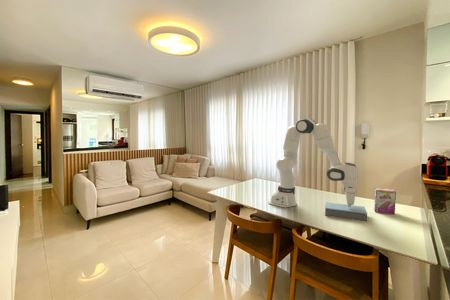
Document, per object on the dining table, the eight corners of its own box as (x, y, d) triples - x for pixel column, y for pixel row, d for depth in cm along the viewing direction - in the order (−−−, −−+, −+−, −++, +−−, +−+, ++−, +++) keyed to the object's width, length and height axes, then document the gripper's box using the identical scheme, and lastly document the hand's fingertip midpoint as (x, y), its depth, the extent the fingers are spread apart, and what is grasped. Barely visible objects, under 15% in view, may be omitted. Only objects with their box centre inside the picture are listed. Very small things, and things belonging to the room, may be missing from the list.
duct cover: (325, 208, 139) (325, 207, 139) (325, 203, 151) (325, 202, 151) (367, 214, 128) (367, 213, 128) (364, 207, 140) (364, 206, 140)
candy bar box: (374, 212, 143) (375, 189, 141) (374, 209, 147) (374, 187, 146) (395, 215, 137) (396, 191, 136) (393, 212, 141) (394, 189, 140)
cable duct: (325, 215, 140) (325, 209, 139) (325, 209, 150) (325, 203, 150) (367, 221, 129) (367, 215, 128) (364, 214, 139) (364, 208, 139)
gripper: (343, 182, 146) (342, 201, 147) (345, 190, 128) (344, 211, 129) (353, 183, 143) (353, 202, 144) (356, 191, 125) (356, 212, 126)
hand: (349, 206), depth 137 cm, fingers closed
